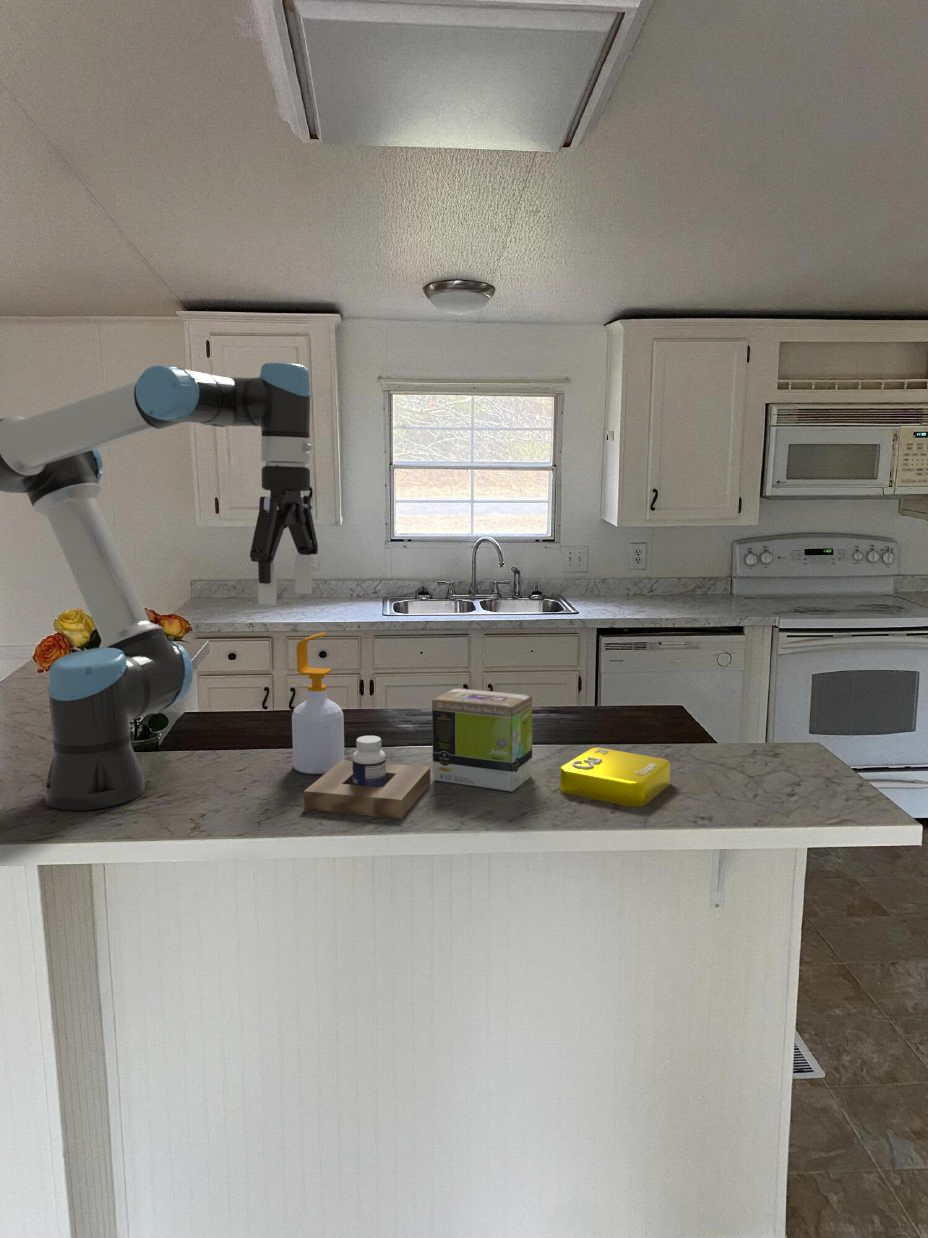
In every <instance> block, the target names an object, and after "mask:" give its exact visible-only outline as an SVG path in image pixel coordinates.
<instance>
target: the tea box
mask: <svg viewBox="0 0 928 1238" xmlns="http://www.w3.org/2000/svg"><path fill="white" fill-rule="evenodd" d="M431 713H432V714H431V718H432V719H431V721H432V722H431V726H432V729H431V730H432V734H431V735H432V741H431V742H432V774H433V775H432V779H433V781H438V782H444V783H452V784H457V785H464V786H465V785H466V786H473V787H479V788H487V789H491V790H492V789H493V790H499V791H505V792H511V793H513V792H514V791H515V790H516V789H517V788H519V787H520V786H521V785H523V784H524V783H525V782H526V781H527V780H528V779H530V778H531V777H532V774H533V773H532V772H533V695H532V694H526V693H514V692H513V693H512V692H503V691H502V692H501V691H493V690H490V691H489V690H482V689H481V690H480V689H467V688H460V687H458V688H457V687H456V688H453V689H452V690H449V691H447V692H445V693H442V694H440V695H438V696H436V697H434V698H432V700H431Z"/></svg>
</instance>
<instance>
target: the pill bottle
mask: <svg viewBox="0 0 928 1238" xmlns="http://www.w3.org/2000/svg"><path fill="white" fill-rule="evenodd" d="M381 748H382V738H381V737H380V736H377V735H362V736H359V737H357V739H356V749H357V750H356V751H355V752H353V753H352V760H351V761H352V767H353V785H360V786H371V787H384V786H385V785H386V764H387V761H386V753H385V752H384V751H383V750H382V749H381Z"/></svg>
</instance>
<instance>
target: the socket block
mask: <svg viewBox="0 0 928 1238" xmlns="http://www.w3.org/2000/svg"><path fill="white" fill-rule="evenodd" d="M430 785H431V766H420V765H409V764H395V763H386V785H385V786H384V787H371V786H360V785H353V767H352V760H345V759H344V760H341V761H340V762H339V763H338V764H336V765H335V766H334V767H333V768H331V769H330V770H329V771H328V772H327V773H325V774H322V776H320V777H319V778H318V779H317V780H315V781H314V782H313V783H312V784H310V785H309V786H308V787H307V788H305V790H303V798H304V799H303V802H304V803H303V804H304V810H306V811H307V810H308V811H319V812H328V813H341V814H348V815H349V814H350V815H359V816H372V817H383V818H393V819H403V818H404V816H406V814H407V813H408V812H409V810H410V809H411V808H412V807H413V806H414V804H416V802H417V801H418V800H419V798H421V796H422V795H423V793H424V792H425V791H426V790H427V789H428V787H429V786H430Z"/></svg>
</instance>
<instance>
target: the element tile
mask: <svg viewBox="0 0 928 1238" xmlns="http://www.w3.org/2000/svg"><path fill="white" fill-rule="evenodd" d="M670 777H671V762H670V761H669V760H668V759H665V758H660V757H654V756H649V755H643V754H638V753H632V752H627V751H623V750H622V751H621V750H615V749H610V748H604V747H597V746H596V747H593V748H590V749H588V750H586V751H585V752H583V753H581V754H580V755H579V754H578V756H576V757H575V758H573V759H571V760H569V761H568V762H566V763H564V764H563V765H561V766H560V768H559V791H560V792H562V793H565V794H569V795H572V796H573V795H574V796H579V797H584V798H586V799H592V800H596V801H603V802H606V803H611V804H615V805H621V806H625V807H633V808H638V807H639V808H641V807H644V806H646V805H647V804H648V803H650V802H651V801H652V800H653V799H654V798H655V797H657V796H658V795H659V794H661V793H662V792H663V791H664V790H665V789H666V788H668V786H670V783H671V782H670V781H671V780H670V779H671V778H670Z"/></svg>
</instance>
